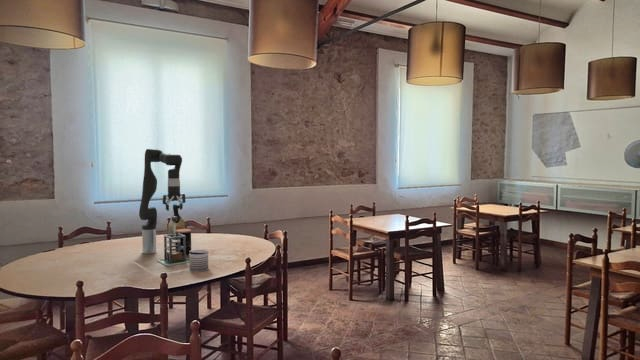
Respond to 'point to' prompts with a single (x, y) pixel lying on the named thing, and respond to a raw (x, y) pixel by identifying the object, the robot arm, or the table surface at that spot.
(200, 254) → the can
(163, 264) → the tray
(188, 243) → the coffee jar
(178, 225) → the ceramic jug
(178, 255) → the press frame
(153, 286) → the table surface
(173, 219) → the plunger
